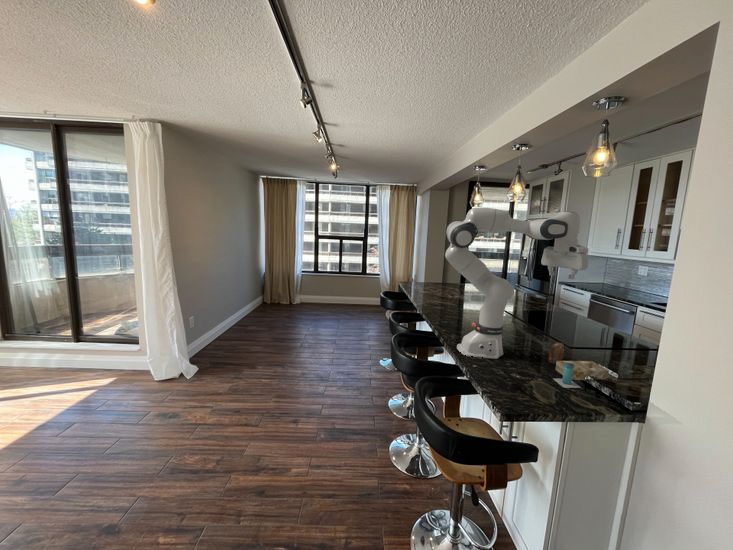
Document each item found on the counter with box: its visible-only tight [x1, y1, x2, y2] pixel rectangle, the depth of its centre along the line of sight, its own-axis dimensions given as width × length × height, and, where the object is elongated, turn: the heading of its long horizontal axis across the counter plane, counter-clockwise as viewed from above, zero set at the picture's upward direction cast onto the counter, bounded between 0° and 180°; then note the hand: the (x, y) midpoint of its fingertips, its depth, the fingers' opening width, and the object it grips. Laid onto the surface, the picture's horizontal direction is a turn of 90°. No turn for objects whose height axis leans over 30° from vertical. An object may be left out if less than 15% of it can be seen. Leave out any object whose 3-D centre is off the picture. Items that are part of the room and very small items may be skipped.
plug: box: [561, 363, 574, 385], centre depth 121 cm, size 3×3×8 cm
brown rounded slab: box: [547, 342, 566, 365], centre depth 143 cm, size 15×3×8 cm, turn 130°
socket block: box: [555, 360, 610, 381], centre depth 128 cm, size 16×9×5 cm, turn 91°
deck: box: [553, 378, 582, 389], centre depth 121 cm, size 7×7×1 cm
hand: (561, 277), depth 140 cm, fingers open, 8 cm apart
